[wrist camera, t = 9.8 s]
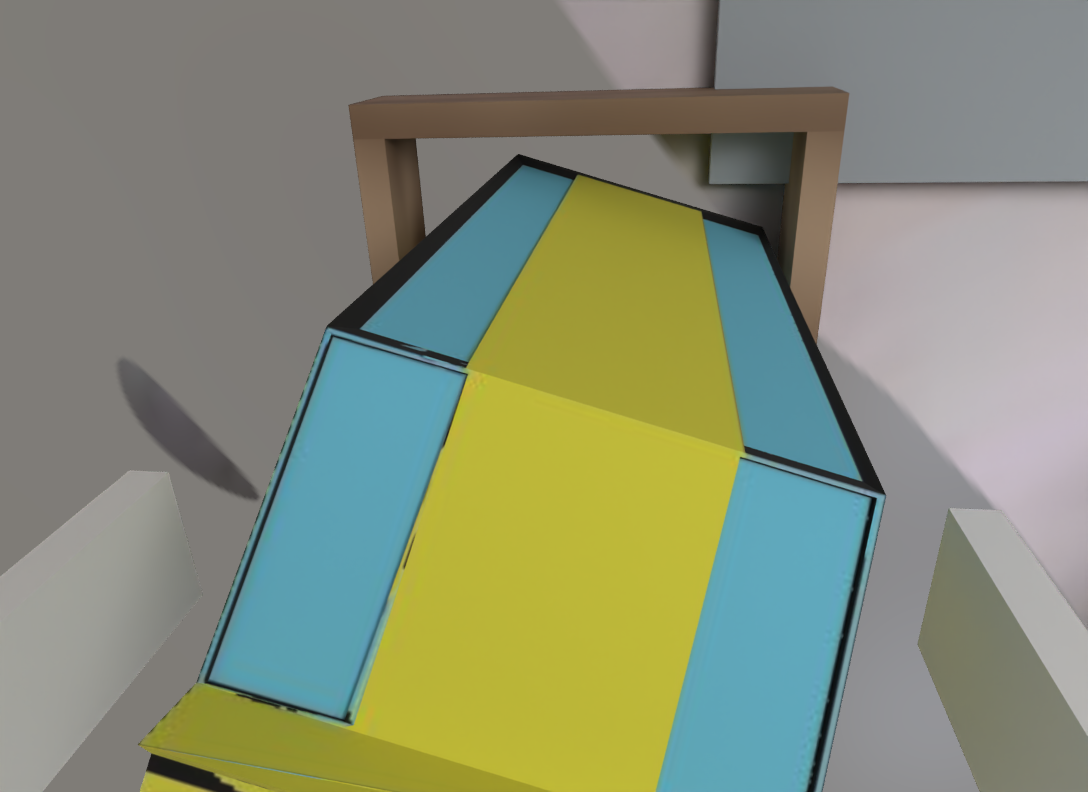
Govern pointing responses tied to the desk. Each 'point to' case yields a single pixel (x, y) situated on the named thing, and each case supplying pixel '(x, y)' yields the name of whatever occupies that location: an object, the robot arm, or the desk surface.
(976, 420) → the desk surface
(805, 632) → the carton
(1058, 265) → the desk surface
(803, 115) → the frame
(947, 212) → the desk surface
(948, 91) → the mat
